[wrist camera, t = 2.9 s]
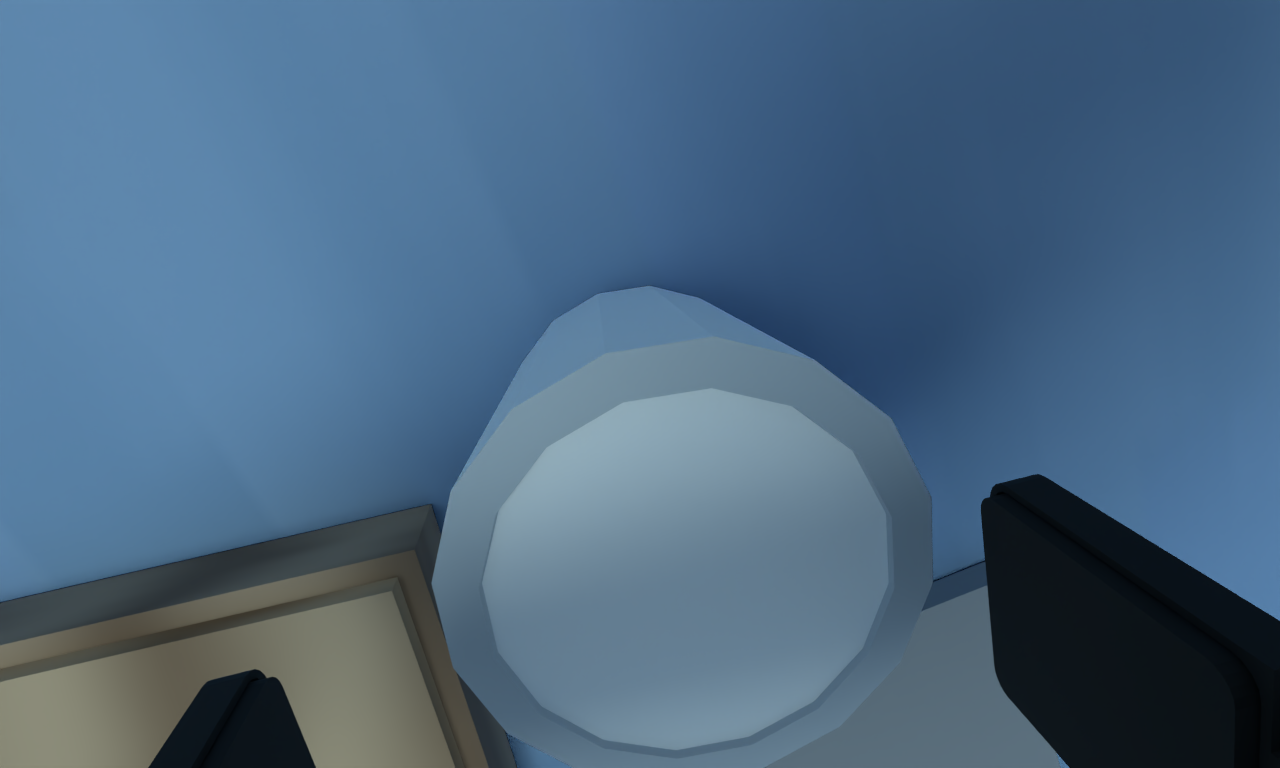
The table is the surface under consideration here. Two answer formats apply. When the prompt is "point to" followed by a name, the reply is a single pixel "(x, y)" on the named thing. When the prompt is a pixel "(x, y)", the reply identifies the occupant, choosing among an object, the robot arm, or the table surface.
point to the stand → (250, 654)
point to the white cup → (679, 543)
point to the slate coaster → (937, 699)
